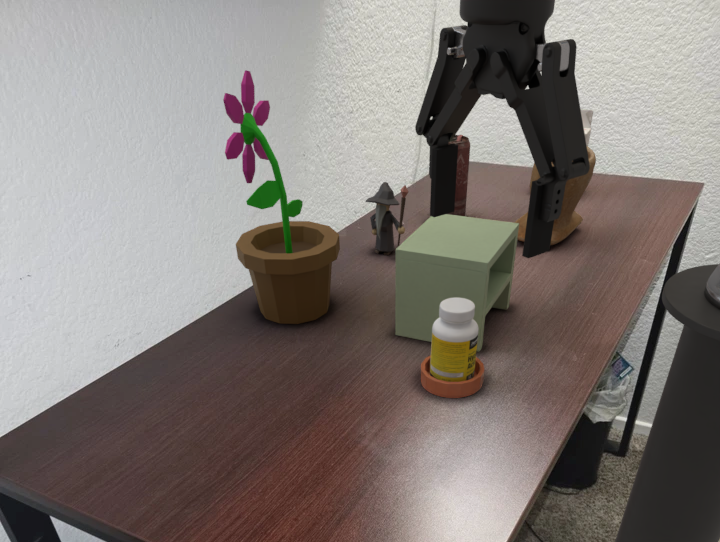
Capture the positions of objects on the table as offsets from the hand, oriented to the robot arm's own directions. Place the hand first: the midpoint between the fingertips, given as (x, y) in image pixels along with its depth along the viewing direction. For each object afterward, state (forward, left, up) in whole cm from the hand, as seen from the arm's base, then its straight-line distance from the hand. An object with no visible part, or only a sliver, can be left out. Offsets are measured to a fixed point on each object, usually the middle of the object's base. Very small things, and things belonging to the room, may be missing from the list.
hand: (485, 232), depth 65 cm
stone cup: (+3, -54, -20) cm, 58 cm away
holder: (+3, -3, -20) cm, 20 cm away
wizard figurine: (+26, -37, -20) cm, 50 cm away
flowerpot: (+31, -13, -20) cm, 39 cm away
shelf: (+8, -18, -20) cm, 28 cm away
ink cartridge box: (+7, -77, -20) cm, 80 cm away
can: (+22, -55, -20) cm, 63 cm away
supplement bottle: (+3, -3, -20) cm, 20 cm away
